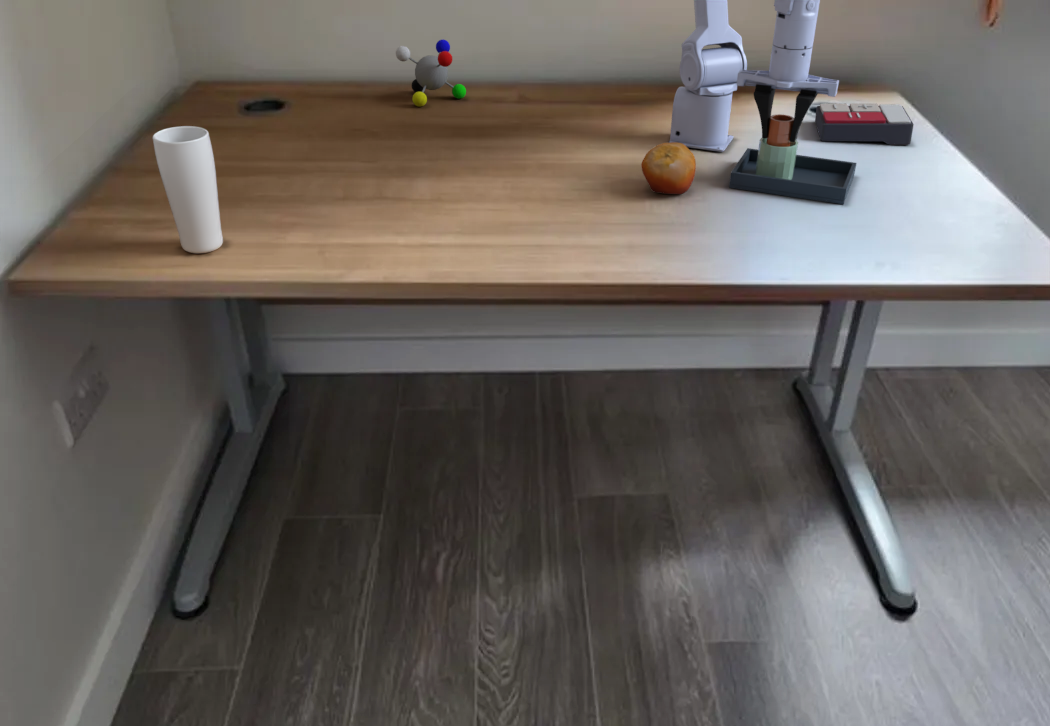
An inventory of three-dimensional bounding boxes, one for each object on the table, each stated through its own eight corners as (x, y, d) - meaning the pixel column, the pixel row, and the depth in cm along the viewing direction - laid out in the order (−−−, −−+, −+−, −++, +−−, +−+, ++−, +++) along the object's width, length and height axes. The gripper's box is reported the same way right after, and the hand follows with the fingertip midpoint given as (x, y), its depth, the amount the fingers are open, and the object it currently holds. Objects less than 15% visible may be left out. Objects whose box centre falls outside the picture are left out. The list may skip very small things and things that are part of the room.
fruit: (702, 171, 150) (701, 135, 143) (690, 212, 147) (688, 178, 140) (651, 165, 153) (647, 129, 145) (638, 205, 149) (634, 170, 142)
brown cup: (763, 149, 148) (767, 119, 146) (768, 142, 151) (772, 113, 149) (787, 152, 147) (792, 122, 145) (791, 145, 150) (796, 116, 148)
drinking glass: (182, 236, 131) (159, 125, 123) (234, 235, 132) (214, 125, 123) (170, 258, 126) (145, 143, 117) (224, 256, 126) (202, 142, 118)
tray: (728, 187, 149) (730, 172, 148) (745, 162, 158) (747, 148, 157) (843, 204, 144) (846, 189, 143) (853, 177, 153) (856, 162, 152)
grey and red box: (816, 101, 175) (903, 100, 173) (814, 125, 177) (899, 125, 175) (823, 119, 166) (915, 119, 164) (820, 144, 168) (910, 145, 166)
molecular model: (389, 104, 182) (385, 49, 177) (422, 87, 192) (419, 34, 186) (443, 112, 179) (441, 57, 173) (474, 94, 188) (473, 41, 183)
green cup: (752, 179, 150) (756, 144, 147) (759, 167, 155) (764, 133, 152) (789, 184, 149) (794, 149, 146) (795, 172, 153) (800, 138, 150)
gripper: (737, 46, 140) (726, 139, 147) (839, 56, 136) (823, 152, 143) (747, 35, 145) (736, 126, 153) (846, 45, 141) (830, 138, 149)
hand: (779, 138), depth 148 cm, fingers closed on brown cup, 4 cm apart
